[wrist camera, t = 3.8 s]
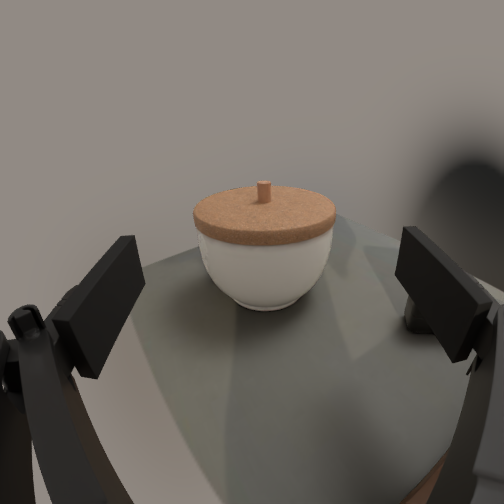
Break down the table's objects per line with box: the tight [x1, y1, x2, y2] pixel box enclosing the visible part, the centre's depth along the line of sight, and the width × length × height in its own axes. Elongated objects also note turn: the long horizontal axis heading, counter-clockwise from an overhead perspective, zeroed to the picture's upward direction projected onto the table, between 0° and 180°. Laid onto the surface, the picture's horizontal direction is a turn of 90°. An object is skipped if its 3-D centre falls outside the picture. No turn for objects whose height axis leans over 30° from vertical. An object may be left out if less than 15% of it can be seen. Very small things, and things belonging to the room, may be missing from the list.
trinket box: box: [193, 181, 336, 311], centre depth 24 cm, size 11×11×9 cm
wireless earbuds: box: [404, 296, 434, 333], centre depth 20 cm, size 5×7×3 cm, turn 76°
